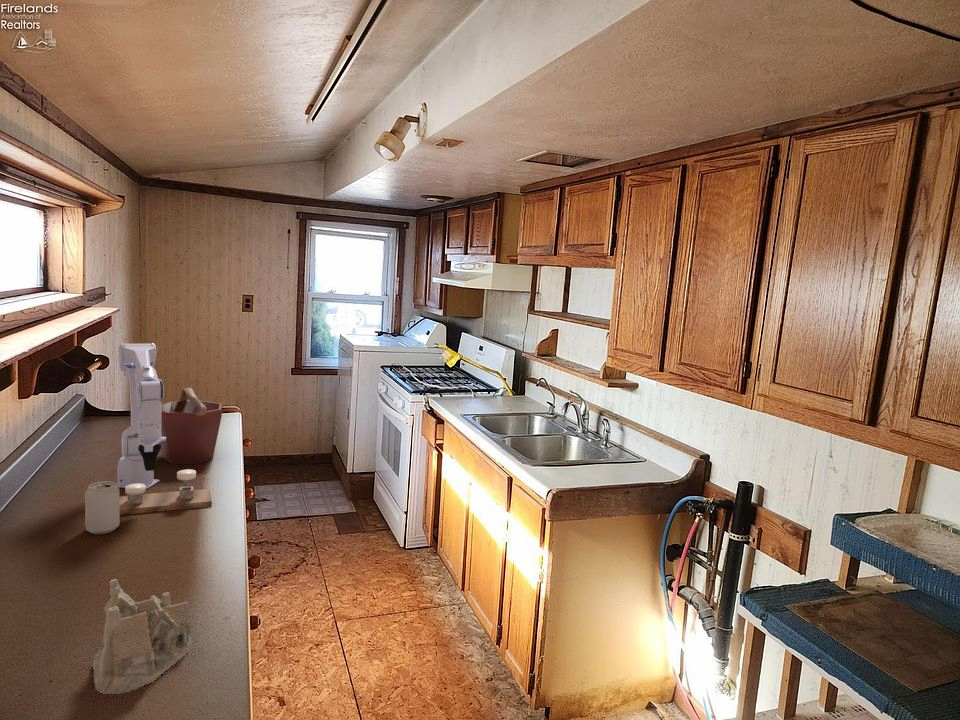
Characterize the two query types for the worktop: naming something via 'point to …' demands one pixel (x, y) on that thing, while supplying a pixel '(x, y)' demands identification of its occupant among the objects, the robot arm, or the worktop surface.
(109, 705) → the worktop surface
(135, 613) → the ceramic cottage
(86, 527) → the can
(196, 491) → the stand
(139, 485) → the plunger
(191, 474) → the plunger
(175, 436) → the bucket
